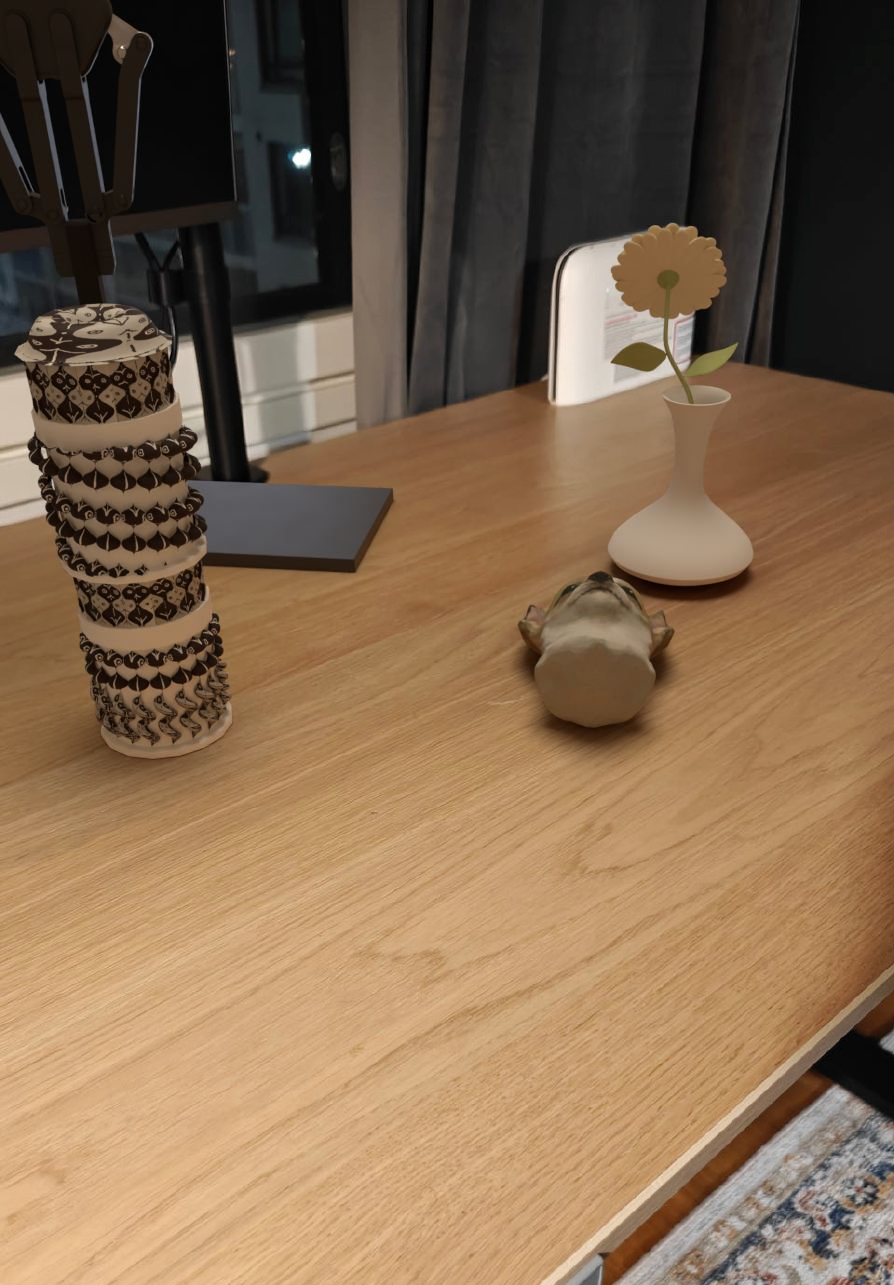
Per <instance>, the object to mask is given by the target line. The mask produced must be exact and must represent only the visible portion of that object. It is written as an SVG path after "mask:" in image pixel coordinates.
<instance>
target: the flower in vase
mask: <svg viewBox="0 0 894 1285" xmlns="http://www.w3.org/2000/svg"><path fill="white" fill-rule="evenodd" d="M698 233H699V231H698V229H697V227H696V226H692V225H689V226H687V227H685V228H680V226H679V225H678V224H677V223H675V222H669V224H667V225H666V227H662V228H661V227H660V226H659V225H657V224H656V225H655V224H654V225H651V226H650V227H648V229H647V231H646V232H645V233H643V234H641V233H636V234H633V235H632V237H631V239H630V240H628V241H626V242H625V243H624V244H623V250H622V251H621V252H620V253H619V254H618V255H617V257H616V259H617V263H619V264H614V265H612V266H611V267H610V273H611V277H612V279H613V281H614V282H615V284H614V287H615V290H616V291H618V292H619V293H622V294H621V295H620V298H621V299H620V300H621V301H622V302H623V303H624V304H625V305H626V306H628V307H632V309H633V310H634V311H635V312H637V313H642V312H646V311H648V312H649V316H650V317H651V318H654V319H659V318H660V319H663V333H662V337H663V338H662V340H663V349H664V350H663V349H661V348H660V347H656V346H654V345H653V344H651V343H647V342H644V341H636V342H633V343H631V344H628V345H626V346H625V347H623V349H621V350H620V351H619V352H618V353H617V354H616V355H615V356H613V358H612V359H611V361H610V362H609V363H610V364H612V365H618V366H623V367H627V368H629V369H633V370H637V371H641V372H646V373H648V372H652V371H653V372H654V370H656V369H658V367H660V366H661V365H662V364H663V363H664V362H665V360H666V359H668V361H669V363H670V366H671V367H672V369H673V371H674V373H675V374H676V377H677V378H678V379H679V381H680V383H681V385H677V386H672V387H669V388H667V389H664V390H663V391H662V392H661V398H662V399H663V401H664V402H665V404H666V406H667V408H668V410H669V412H670V415H671V420H672V423H673V430H674V431H673V432H674V464H673V470H672V476H671V481H670V484H669V486H668V487H667V490H666V491H665V492H664V494H662V496H660V497H659V498H658V499H657V500H655V501H654V502H652V503H650V504H649V505H646V507H644V508H643V509H641V510H640V511H638V512H637V513H634V514H633V515H632V516H631V517H629V518H627V519H626V520H625V521H624V522H623V523H622V524H621V525H619V527H617V528H616V529H615V530H614V532H613V534H612V535H611V537H610V540H609V542H608V545H607V551H608V555H609V556H610V557H611V559H612V561H613V562H614V563H615V565H616V566H617V567H618V568H619V569H621V570H622V571H624V572H625V573H627V574H629V575H631V576H633V577H636V578H638V579H642V580H645V581H648V582H652V583H656V584H660V585H667V586H678V587H696V586H704V585H711V584H717V583H721V582H724V581H728V580H730V579H733V578H735V577H737V576H739V575H740V574H742V573H743V572H744V571H745V570H746V569H747V567H748V566H749V565H750V564H751V563H752V561H753V559H754V548H753V545H752V542H751V539H750V538H749V535H747V534H746V533H745V531H744V530H743V529H742V528H741V527H740V525H738V524H737V522H735V521H734V520H733V519H732V518H731V517H730V516H729V515H728V514H727V513H725V512H724V511H723V510H722V509H721V508H719V507H718V506H717V505H716V504H715V503H714V502H713V501H712V500H711V498H710V497H709V496H708V494H707V493H706V490H705V487H704V467H705V458H706V452H707V448H708V444H709V441H710V440H709V439H710V436H711V434H712V430H713V428H714V424H715V423H716V420H717V418H718V416H719V415H720V413H721V411H722V410H723V409H724V407H726V405H728V403H729V402H730V401H731V399H732V394H731V393H730V392H729V391H727V390H725V389H723V388H720V387H715V386H711V385H701V384H688V383H687V380H686V379H685V378H693V377H699V376H706V375H708V374H711V373H713V372H715V371H717V370H718V369H719V368H721V367H722V366H723V365H725V363H727V362H728V361H729V360H730V359H731V357H732V355H733V354H734V352H735V351H736V349H737V347H738V344H739V342H736V343H734V344H732V345H730V346H728V347H726V348H722V349H718V350H714V351H711V352H708V353H704V354H702V355H701V356H699V357H697V359H695V361H694V362H693V363H691V365H690V366H689V367H688V368H687V370H686V373H685V374H684V375H683V373H682V372H681V370H680V368H679V365H678V364H677V363H676V361H675V359H674V357H673V355H672V352H671V349H670V346H669V338H668V337H669V333H668V332H669V320H674V319H677V318H678V317H679V316H680V315H683V316H685V317H686V316H690V315H692V314H693V313H694V312H695V311H699V310H706V309H709V307H710V306H712V303H713V301H712V299H711V298H715V297H717V296H718V295H719V294H720V292H721V291H720V288H722V287H723V286H725V285H726V284H727V280H728V279H727V277H726V276H725V274H726V273H727V267H725V266H724V265H725V263H724V260H722V259H721V258H722V256H723V252H722V249H719V248H718V247H717V240H716V239H715V238H714V237H704V236H698Z"/></svg>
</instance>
